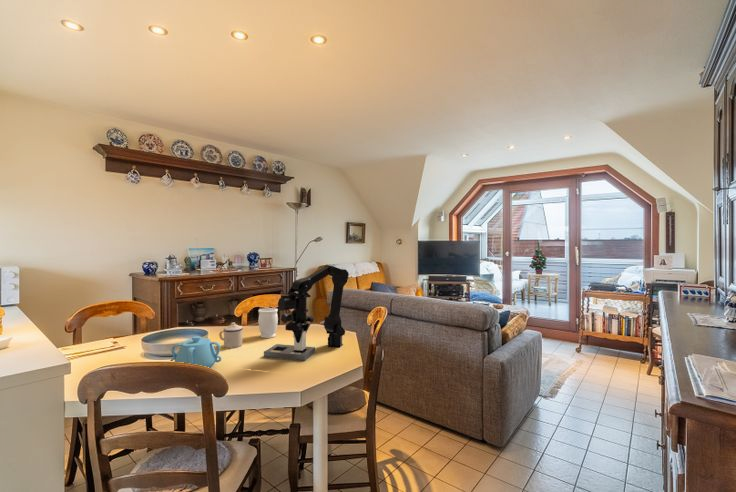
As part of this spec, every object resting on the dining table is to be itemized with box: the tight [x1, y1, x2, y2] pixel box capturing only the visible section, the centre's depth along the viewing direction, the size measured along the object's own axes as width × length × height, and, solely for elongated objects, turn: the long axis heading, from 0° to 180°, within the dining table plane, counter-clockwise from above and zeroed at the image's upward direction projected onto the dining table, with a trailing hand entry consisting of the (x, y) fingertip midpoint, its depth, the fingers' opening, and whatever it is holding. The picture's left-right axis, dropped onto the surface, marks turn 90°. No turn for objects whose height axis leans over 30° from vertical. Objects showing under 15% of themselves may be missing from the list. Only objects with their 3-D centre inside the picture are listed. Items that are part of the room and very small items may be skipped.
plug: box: [293, 331, 307, 351], centre depth 158 cm, size 5×4×8 cm
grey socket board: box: [263, 343, 316, 362], centre depth 159 cm, size 20×12×3 cm, turn 78°
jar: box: [258, 307, 279, 339], centre depth 191 cm, size 11×10×15 cm
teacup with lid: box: [219, 322, 244, 349], centre depth 174 cm, size 12×9×12 cm
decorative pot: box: [169, 335, 222, 369], centre depth 141 cm, size 16×16×14 cm
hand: (300, 341), depth 158 cm, fingers closed on plug, 4 cm apart
